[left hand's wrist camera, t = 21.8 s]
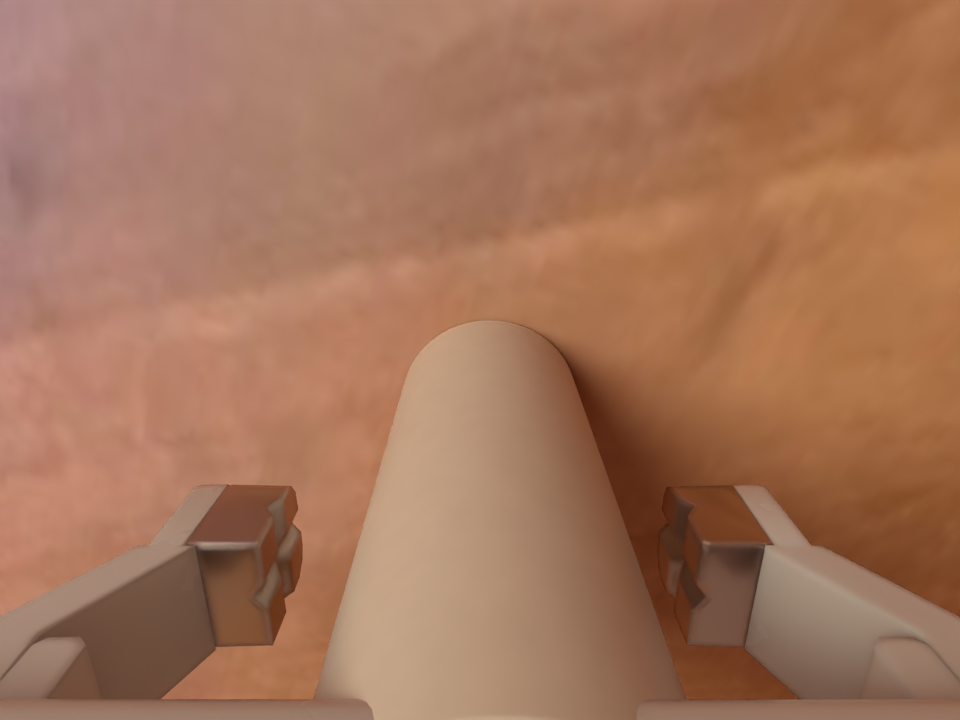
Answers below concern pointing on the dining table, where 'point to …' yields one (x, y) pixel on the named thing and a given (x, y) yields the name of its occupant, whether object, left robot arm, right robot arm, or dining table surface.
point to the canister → (495, 552)
